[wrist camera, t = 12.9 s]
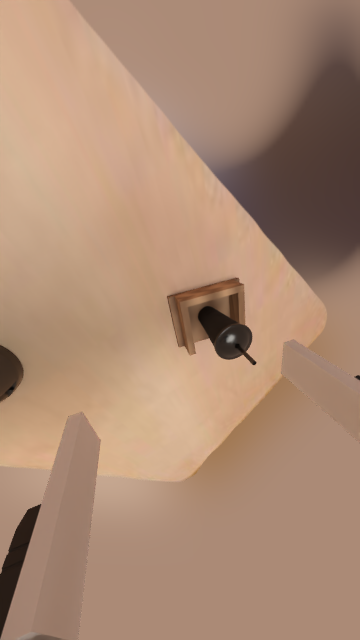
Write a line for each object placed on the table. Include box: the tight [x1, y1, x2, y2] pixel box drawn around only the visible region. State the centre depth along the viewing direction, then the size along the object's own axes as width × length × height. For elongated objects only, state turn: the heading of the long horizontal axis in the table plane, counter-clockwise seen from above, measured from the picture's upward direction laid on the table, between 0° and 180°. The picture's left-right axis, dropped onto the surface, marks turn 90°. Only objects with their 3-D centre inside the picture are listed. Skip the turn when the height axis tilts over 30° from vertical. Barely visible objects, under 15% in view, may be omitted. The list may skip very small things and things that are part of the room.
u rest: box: [167, 278, 245, 355], centre depth 46 cm, size 18×14×6 cm
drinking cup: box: [198, 306, 256, 365], centre depth 38 cm, size 8×8×20 cm
